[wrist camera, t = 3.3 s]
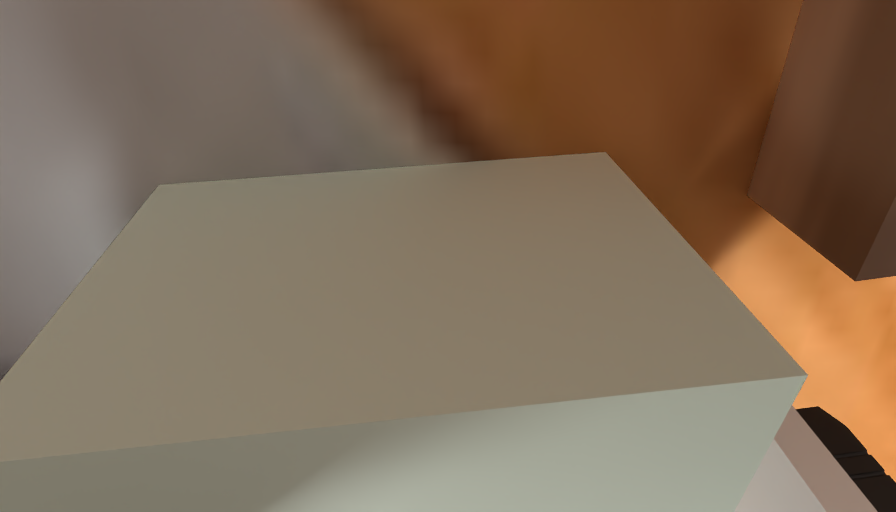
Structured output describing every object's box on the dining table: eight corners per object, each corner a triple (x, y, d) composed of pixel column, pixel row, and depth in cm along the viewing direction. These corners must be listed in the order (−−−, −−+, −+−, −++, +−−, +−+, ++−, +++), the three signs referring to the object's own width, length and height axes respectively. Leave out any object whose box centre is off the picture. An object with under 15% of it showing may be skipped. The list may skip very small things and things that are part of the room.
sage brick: (267, 453, 17) (208, 735, 11) (161, 181, 11) (-71, 469, 5) (561, 421, 18) (648, 670, 12) (602, 149, 12) (808, 374, 6)
